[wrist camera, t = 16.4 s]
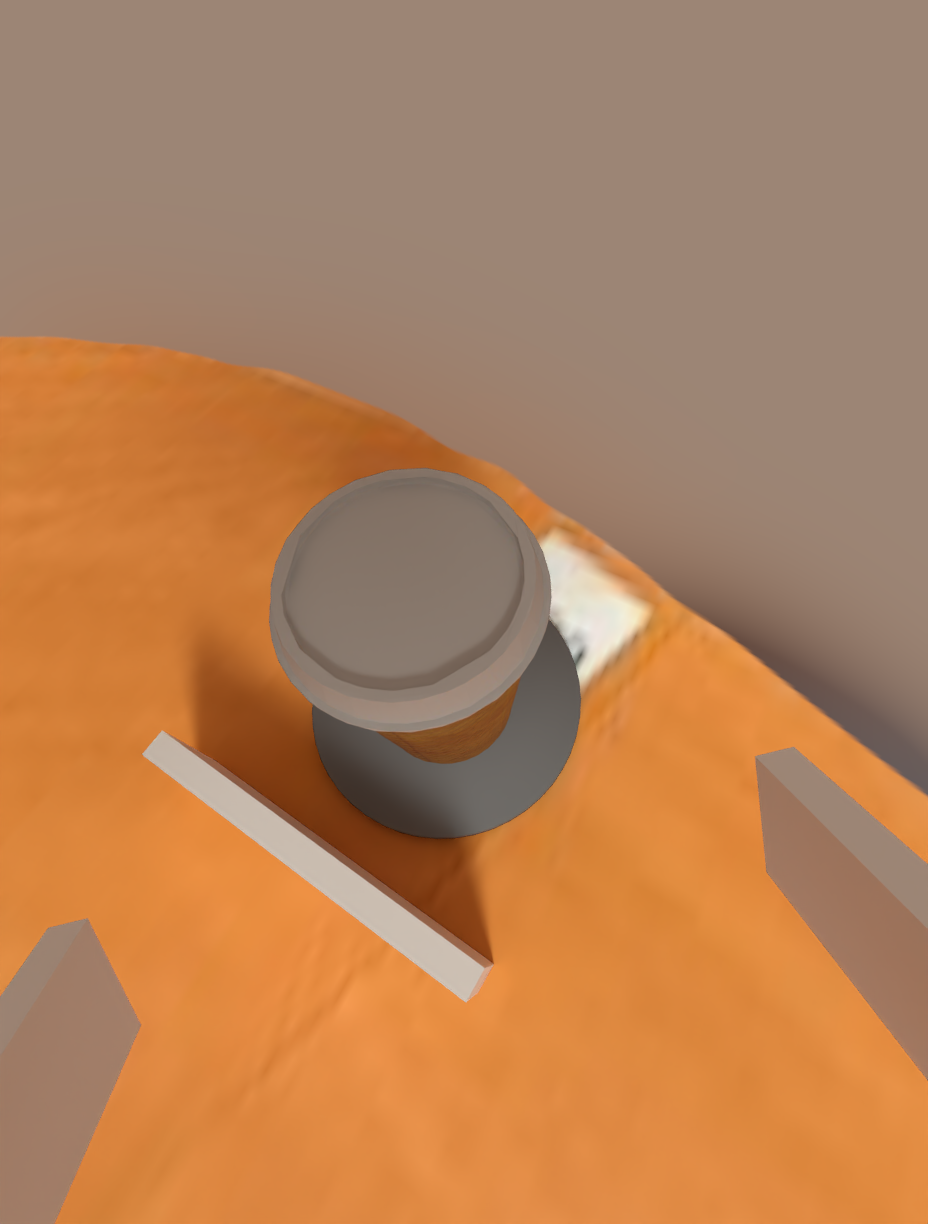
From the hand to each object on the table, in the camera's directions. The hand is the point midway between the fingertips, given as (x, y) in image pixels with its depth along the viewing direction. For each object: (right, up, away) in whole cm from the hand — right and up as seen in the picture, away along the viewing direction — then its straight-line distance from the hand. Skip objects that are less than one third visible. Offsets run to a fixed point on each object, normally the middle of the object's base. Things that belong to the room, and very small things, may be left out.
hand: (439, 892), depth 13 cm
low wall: (-5, -6, +16) cm, 18 cm away
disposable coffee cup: (0, +1, +19) cm, 19 cm away
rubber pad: (0, +1, +19) cm, 19 cm away
